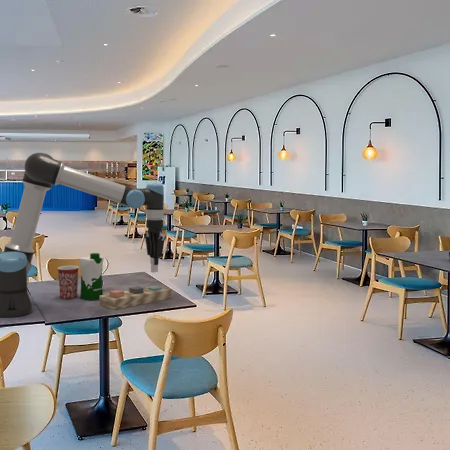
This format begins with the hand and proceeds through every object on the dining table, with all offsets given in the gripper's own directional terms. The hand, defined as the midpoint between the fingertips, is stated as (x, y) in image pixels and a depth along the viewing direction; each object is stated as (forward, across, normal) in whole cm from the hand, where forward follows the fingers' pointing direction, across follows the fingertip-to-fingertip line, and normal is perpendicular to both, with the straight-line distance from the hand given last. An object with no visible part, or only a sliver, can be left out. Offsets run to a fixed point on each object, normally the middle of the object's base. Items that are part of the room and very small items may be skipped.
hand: (154, 271), depth 246 cm
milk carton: (+12, +18, +21) cm, 30 cm away
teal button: (+10, 0, 0) cm, 10 cm away
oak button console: (+12, 0, +10) cm, 15 cm away
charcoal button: (+9, 0, +10) cm, 13 cm away
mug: (+12, +27, +26) cm, 39 cm away
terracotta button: (+9, 0, +20) cm, 22 cm away
